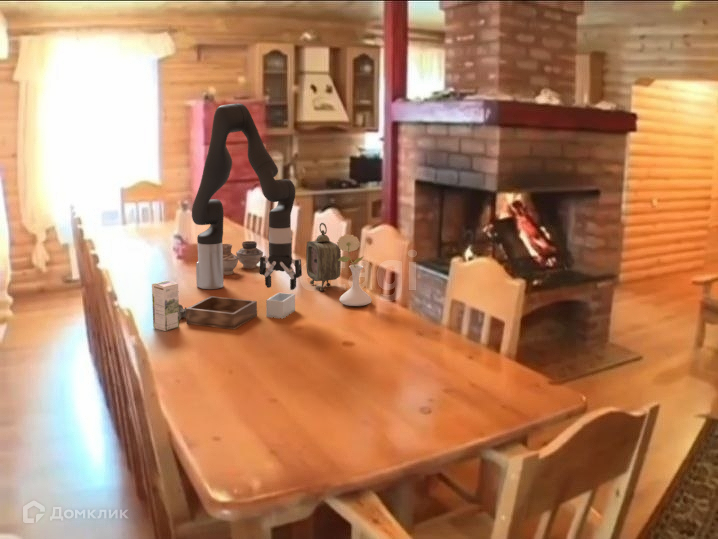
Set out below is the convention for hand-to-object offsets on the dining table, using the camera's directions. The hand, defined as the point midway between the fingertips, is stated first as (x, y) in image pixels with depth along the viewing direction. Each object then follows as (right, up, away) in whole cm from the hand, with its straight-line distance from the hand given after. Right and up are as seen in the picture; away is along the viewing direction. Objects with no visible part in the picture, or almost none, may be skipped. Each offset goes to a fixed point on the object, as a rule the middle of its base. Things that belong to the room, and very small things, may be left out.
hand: (280, 288), depth 245 cm
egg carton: (-35, -10, -4) cm, 36 cm away
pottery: (-24, +6, +63) cm, 68 cm away
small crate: (0, -9, +2) cm, 9 cm away
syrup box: (-34, -12, -15) cm, 39 cm away
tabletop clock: (+12, -1, +37) cm, 39 cm away
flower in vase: (+24, -6, +15) cm, 29 cm away
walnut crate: (-18, -10, -5) cm, 22 cm away
